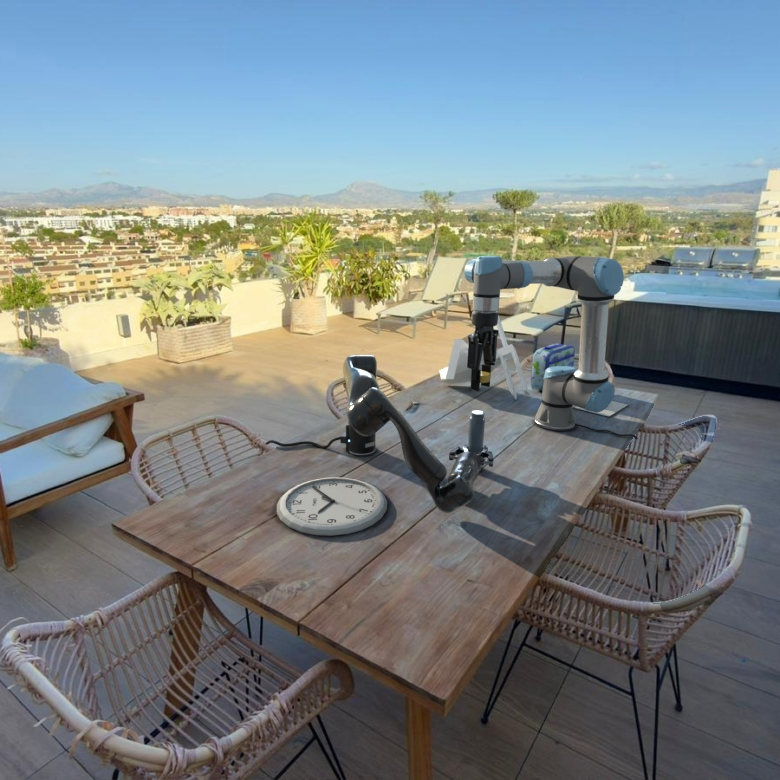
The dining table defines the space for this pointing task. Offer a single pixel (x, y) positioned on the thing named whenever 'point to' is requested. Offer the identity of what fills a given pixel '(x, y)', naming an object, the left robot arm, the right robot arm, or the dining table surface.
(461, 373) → the white plastic object
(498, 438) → the dining table surface
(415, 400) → the fork
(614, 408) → the invitation card
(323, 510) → the wall clock
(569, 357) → the lunch box
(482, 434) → the bottle
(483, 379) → the lid
